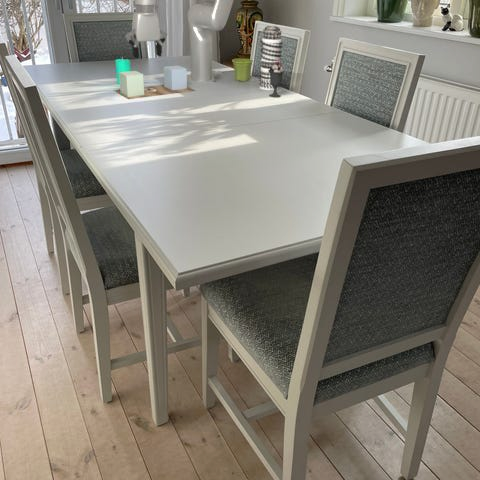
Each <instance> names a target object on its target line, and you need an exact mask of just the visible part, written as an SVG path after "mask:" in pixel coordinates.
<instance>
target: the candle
mask: <svg viewBox="0 0 480 480" xmlns="http://www.w3.org/2000/svg"><path fill="white" fill-rule="evenodd" d="M115 71H116V79H117V81H116V82H117V85H119V86H120V79H119V72H128V71H132V70H131V60H129V59H128V58H125V59H124V58H123V56H121V58H118V59H115Z"/></svg>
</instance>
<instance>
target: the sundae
mask: <svg viewBox="0 0 480 480" xmlns="http://www.w3.org/2000/svg"><path fill="white" fill-rule="evenodd" d="M279 59H280V60H279V61H278V62H279V64H278V62H276V63H275V64H274V65H273V66H272V67H271V66H270V67H269V69H270V70H268V71H269V73H270V80H271V85H272V86H273V87H274V90H273V91H272V93H271V94H269V95H268V96H269V97H270V98H280V97H281V96H282V95H281V94H279V93H278V92H277V90H278V89H277V87H278V88H279V86H280V85H281V84H282V79H283V75H284V73H285V71H284V68H283V66H282V63H281V60H282V57H279Z"/></svg>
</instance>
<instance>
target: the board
mask: <svg viewBox="0 0 480 480" xmlns="http://www.w3.org/2000/svg"><path fill="white" fill-rule="evenodd" d="M196 91H197V90H196V89H194V88H191V87H189V86H187V88H186V89H178V90H171V89H168V88H166V87H164V84H159V85H151V86H144V95H140V96H132V97H127V96H125V95H123V94H122V93H121V91H120V89H116V90H113V92H115V93H116V94H119V95H120V96H122V97H124V98H125V99H127V100H134V99H143V98H148V97H149V98H150V97H151V98H152V97H156V96H166V95H173V94H175V95H176V94H181V93H188V92H196Z"/></svg>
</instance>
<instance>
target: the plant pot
mask: <svg viewBox="0 0 480 480" xmlns="http://www.w3.org/2000/svg"><path fill="white" fill-rule="evenodd" d="M231 62H232V64H233V69H234V78H235V81H237V82H239V81H240V82H248V81H249V79H250V74H251V73H250V72H251V67H252V65H253V62H254V60H253V59H249V58H234V59H231Z"/></svg>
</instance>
